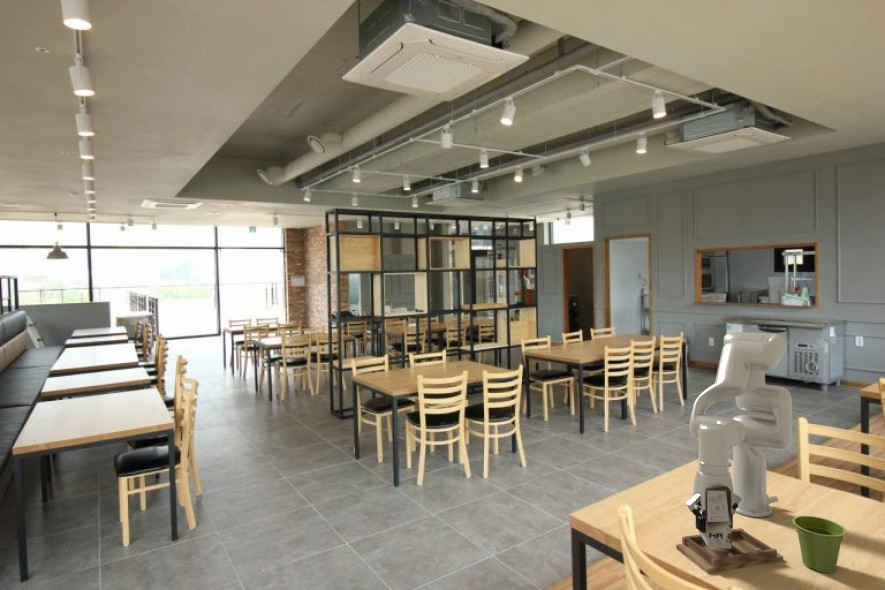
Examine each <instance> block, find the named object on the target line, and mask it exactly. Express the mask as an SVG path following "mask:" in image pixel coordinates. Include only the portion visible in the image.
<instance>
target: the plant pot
mask: <svg viewBox="0 0 885 590" xmlns="http://www.w3.org/2000/svg"><path fill="white" fill-rule="evenodd" d="M792 523H793V524H794V525H795V530H796V534H797V537H798V541H799V548H800V553H801V558H802V563H803V565H804V566H806V567H808V568H809V569H813V570H815V571H816V570H817V572H819V571H821V572H820V573H827V572H829V573H832V572H833V573H834V572H835V570H836V569H837V564H838V559H839V554H840V548H841V546H842V545H841V544H842V542H843V540H844V536H845V535H846V534H847V529H846V528H845V527H844V526H843V525H841V524H840V523H838V522H835V521H833V520H831V519H827V518H824V517H820V516H814V515H798V516H795V517H793V518H792Z"/></svg>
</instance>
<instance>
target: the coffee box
mask: <svg viewBox="0 0 885 590" xmlns="http://www.w3.org/2000/svg"><path fill="white" fill-rule="evenodd" d="M701 511H702V509H701V510H700V512H701ZM700 512H699V513H700ZM704 519H705V526H706V532H705V533H702V532H701V531H699V530H698V533H699V534H700V535H701V536H702V538H703V540H704V541H705V543H706V545H707V546H708V547H715V548H729V549H731V530H732V529H731V490H730V489H729V488H728V487H718V488H713V489H706V510H705V516H704Z"/></svg>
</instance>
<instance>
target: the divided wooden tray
mask: <svg viewBox="0 0 885 590" xmlns="http://www.w3.org/2000/svg"><path fill="white" fill-rule="evenodd" d="M681 542H682V543H678V544H677V543H676V544H675V545H676V546H675V548H676V550H677V551H679V553H681V554H683V556H685V557H686V558H687V559H689V560H690V561H691V562H692V563H694V564H695V565H696V566H697V567H698V568H700V569H701V570H703V572H705V573H706V574H712V573H716V572H722V571H729V570H734V569H735V570H736V569H740V568H741V569H742V568H746V567H753V566H759V565H764V564H769V563H777V562H782V561H784V556H783V555H782V554H781V553H779V552H778V549H776V548H772V547H771V546H769V545H767V544H766V543H764V542H762V540H759V539H758V538H756V537H754V536H753V535H751V534H749V533H748V532H746V531H745V530H744V528H742V527H740V528H733V529H731V549H729V548H715V547H708V546H707V545H706V543H705V541H704V540H703V538H702V536H701V535H700V533H699V534H693V535H688V536H682V539H681Z"/></svg>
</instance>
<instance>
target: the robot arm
mask: <svg viewBox="0 0 885 590" xmlns="http://www.w3.org/2000/svg"><path fill="white" fill-rule="evenodd" d="M785 351H786V342H785V340H784V338H783V337H782V336H781V335H780V334H776V333H766V332H763V333H762V332H748V331H747V332H746V331H745V332H744V331H735V332H734V331H733V332H728V333H726V334H725V335H724V337H723V347H722V349H721V354H720V359H719V362H718V367H717V372H716V377H715V382H714V383H713V384H711V385H710V386H708V387H707V388H706V389H704V390H703V391H702V392H701V393H700V394H699V395H698V396H697V398H696V399H695V401H694V402H693V406H692V409H691V413H690V414H691V415H690V418H689V425H688V426H689V433H690V434H691V436H692V437H693V438H694V439H697V440H698V470H696V471H695V475H694V481H693V489H692V497H691V499H689V500H688V501H686V506H687V507H688V509H689V511H690V512H691V513H692V514H693V515H694V516H695V529H697V530H698V532H699V531H701V532H702V533H705V532H706V526H705V519H704V516H705V510H706V489H713V488H718V487H728V488H729V489H730V490H731V530H732V529H734V515H736V513H737V514H740V515H744V516H747V517H751V518H752V517H753V518H765V517H769V516H771V515H772V514H773V509H772V507H771V506H770V505H771V504H772V503H778V502H779V498H778V496H777V495H772V496H769V495H768V494H767V460H766V456H765V454H764V453H763V451H762V449H760V448H764V449H771V450H776V451H777V450H778V451H787V450H788V449H790V448H791V446H792V439H793V400H792V395H791V392H790V391H789V390H788V389H787V388H786V387H784V386H779V385H772V384H767V383H766V371H772V370H774V368H776V367H777V365H778V364H779V362H780V361H781V360H782V359H783V358H784V356H785ZM732 398H735V404H736V407H737V408H738V409H739V410H741V411H745V412H750V413H755V414H756V413H757V414H764V415H770V416H772V417H773V418H770V417H769V418H767V417H762V416H756V415H749V414H739V415H738V414H737V415H735V416H734V417H732V418H730V417H723V416H717V415H711V414H710V415H709V414H706V411H707V410H708V409H709V408H710V407H711V406H712V405H714V404H716V403H718V402H721V401H725V400H728V399H732ZM730 447H732V454H733V455H732V456H733V457H732V459H733V461H732V462H733V463H732V462H730V456H729V455H730V454H729V453H730V452H729V448H730ZM732 465H733V466H732ZM730 467H733V470H732V471H733V477H732V474H731V472H730ZM732 478H733V479H732ZM695 506H696V507H695ZM701 509H702V511H701V512H700V510H701ZM699 512H700V513H699Z"/></svg>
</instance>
